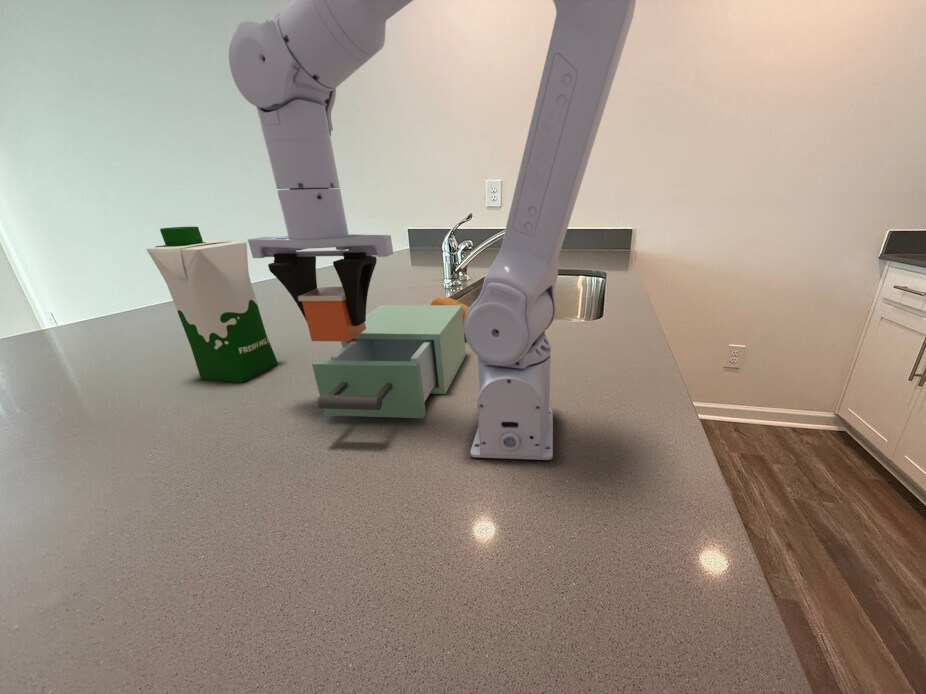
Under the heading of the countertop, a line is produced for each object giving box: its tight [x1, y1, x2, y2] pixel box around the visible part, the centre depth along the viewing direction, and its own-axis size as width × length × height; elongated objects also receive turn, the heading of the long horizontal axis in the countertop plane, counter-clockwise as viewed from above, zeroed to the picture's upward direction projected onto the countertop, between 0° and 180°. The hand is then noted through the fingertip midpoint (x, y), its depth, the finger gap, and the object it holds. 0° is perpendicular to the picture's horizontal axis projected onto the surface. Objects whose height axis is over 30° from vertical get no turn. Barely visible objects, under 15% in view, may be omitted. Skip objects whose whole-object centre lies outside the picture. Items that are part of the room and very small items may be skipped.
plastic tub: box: [298, 286, 366, 342], centre depth 45 cm, size 5×5×5 cm
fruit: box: [430, 296, 470, 337], centre depth 72 cm, size 8×8×8 cm
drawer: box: [311, 339, 438, 419], centre depth 48 cm, size 17×11×6 cm, turn 175°
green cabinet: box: [340, 304, 467, 395], centre depth 57 cm, size 14×13×8 cm
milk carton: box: [146, 226, 279, 383], centre depth 56 cm, size 9×9×20 cm
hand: (337, 323), depth 46 cm, fingers closed on plastic tub, 4 cm apart
